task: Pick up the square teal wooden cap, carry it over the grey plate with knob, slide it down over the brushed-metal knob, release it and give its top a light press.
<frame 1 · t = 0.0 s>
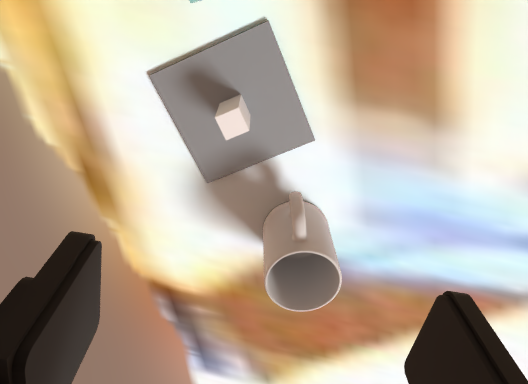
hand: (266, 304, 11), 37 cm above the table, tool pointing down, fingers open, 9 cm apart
grey plate with knob: (235, 108, 47), on the table
mug: (294, 216, 53), on the table
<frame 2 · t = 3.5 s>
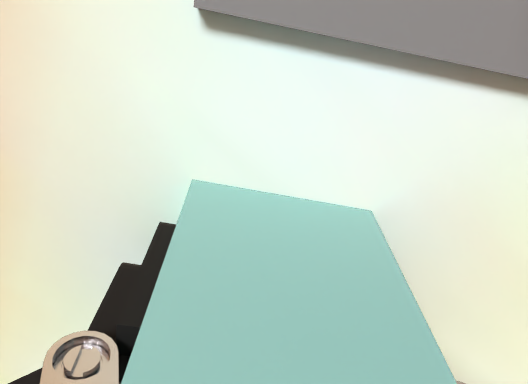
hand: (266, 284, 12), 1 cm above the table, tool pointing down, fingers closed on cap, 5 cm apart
cap: (265, 268, 13), on the table, touching gripper
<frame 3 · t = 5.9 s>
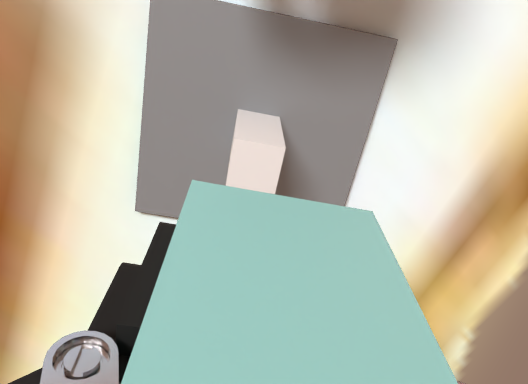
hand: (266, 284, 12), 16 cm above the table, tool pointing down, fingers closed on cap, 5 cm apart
grey plate with knob: (254, 130, 26), on the table
cap: (265, 269, 13), point 15 cm above the table, touching gripper
when the fingers open (2 cm above the table, at t = 8.4 s): cap stays where it is, resting on grey plate with knob.
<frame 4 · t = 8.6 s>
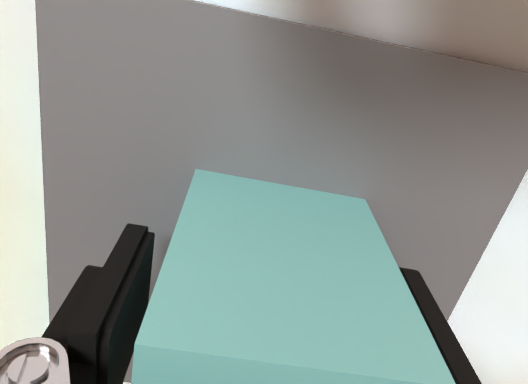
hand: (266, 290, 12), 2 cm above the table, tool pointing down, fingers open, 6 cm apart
grey plate with knob: (265, 245, 14), on the table
cap: (265, 254, 13), resting on grey plate with knob
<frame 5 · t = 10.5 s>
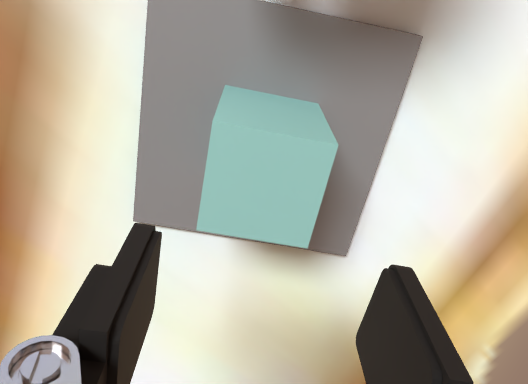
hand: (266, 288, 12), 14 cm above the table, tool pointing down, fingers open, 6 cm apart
grey plate with knob: (263, 135, 24), on the table
cap: (262, 138, 24), resting on grey plate with knob
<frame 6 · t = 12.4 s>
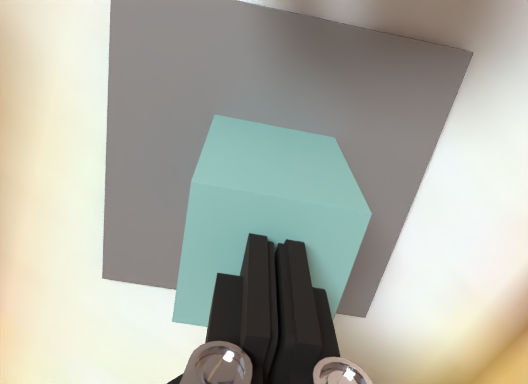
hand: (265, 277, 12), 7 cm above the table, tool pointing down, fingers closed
grey plate with knob: (263, 175, 19), on the table
cap: (263, 180, 19), resting on grey plate with knob
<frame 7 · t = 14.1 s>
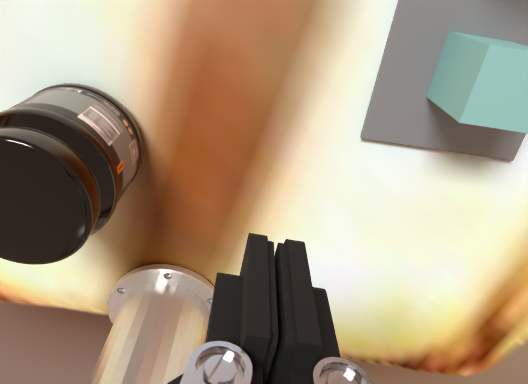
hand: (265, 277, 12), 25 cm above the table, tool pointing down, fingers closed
grey plate with knob: (466, 68, 34), on the table
supplement container: (87, 138, 37), on the table
cap: (468, 70, 33), resting on grey plate with knob
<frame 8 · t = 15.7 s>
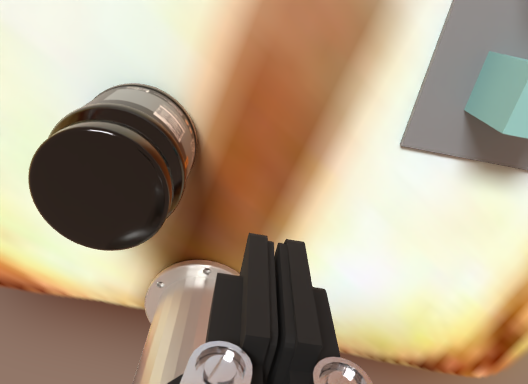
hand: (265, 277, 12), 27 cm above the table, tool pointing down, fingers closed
grey plate with knob: (500, 85, 37), on the table
supplement container: (144, 136, 39), on the table
cap: (503, 87, 36), resting on grey plate with knob
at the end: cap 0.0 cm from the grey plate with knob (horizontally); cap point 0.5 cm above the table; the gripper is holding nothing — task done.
